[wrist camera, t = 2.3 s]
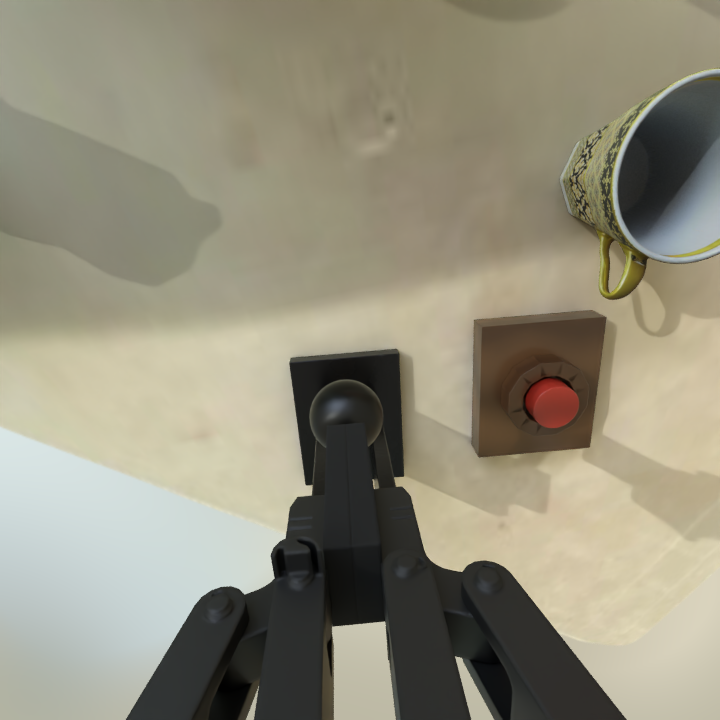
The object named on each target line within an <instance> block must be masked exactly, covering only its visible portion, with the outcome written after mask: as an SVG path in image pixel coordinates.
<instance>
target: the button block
mask: <svg viewBox="0 0 720 720" xmlns="http://www.w3.org/2000/svg"><path fill="white" fill-rule="evenodd" d="M605 325H606V317H605V316H603V315H601V314H599V313H597V312H595V311H592V310H589V311H576V312H564V313H552V314H540V315H528V316H515V317H503V318H491V319H479V320H474V353H473V401H472V446H473V448H474V450H475V452H476V454H477V455H478V457H489V456H500V455H511V454H523V453H534V452H545V451H556V450H567V449H578V448H589V447H590V442H591V434H592V426H593V419H594V411H595V403H596V395H597V387H598V379H599V372H600V364H601V356H602V348H603V340H604V332H605ZM547 378H555V379H558V380H561V381H562V382H564V383H565V384H566V385H567V386H568V387H570V388H571V389H572V390H573V391H574V392H575V393H576V394H577V396H578V399H579V409H578V412H577V414H576V415H575V417H574V418H573V419H572V420H571V421H570V422H569V423H567V424H566V425H564V426H561V427H558V428H547V427H544V426H542V425H540V424H539V423H538V422H537V421H536V420H535V419H534V418H533V417H532V415H531V414H530V413H529V412H528V411H527V409H526V406H525V398H526V394H527V392H528V390H529V389H530V388H531V387H532V386H533V385H534V384H535V383H536V382H538V381H540V380H543V379H547Z"/></svg>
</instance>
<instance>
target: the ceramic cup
mask: <svg viewBox="0 0 720 720" xmlns="http://www.w3.org/2000/svg"><path fill="white" fill-rule="evenodd" d="M560 184H561V187H562V191H563V195H564V198H565V202H566V205H567V209H568V212H569V214H571V215H573V216H575V217H577V218H579V219H581V220H583V221H584V222H586V223H587V224H589V225H590V226H592V227H593V228H595V229H596V230H597V234H598V237H599V239H600V274H599V290H600V293H601V295H602V296H603V297H605V298H607V299H610V300H615V299H620V298H623V297H625V296H627V295H628V294H630V293H631V292H632V291H633V290H634V289H635V288H636V287H637V285H638V284H639V283H640V281H641V280H642V278H643V275H644V273H645V269H646V263H647V259H648V258H651V259H654V260H657V261H660V262H664V263H671V264H685V263H692V262H698V261H701V260H705V259H708V258H711V257H713V256H716V255H718V254H720V68H714V69H708V70H704V71H700V72H697V73H694V74H692V75H689V76H687V77H685V78H683V79H681V80H679V81H677V82H675V83H673V84H671V85H670V86H668V87H666V88H664V89H662V90H660V91H658V92H657V93H655V94H653V95H652V96H650V97H648V98H647V99H645V100H643V101H642V102H640V103H639V104H637V105H635V106H634V107H632V108H631V109H630V110H628V111H627V112H625V113H624V114H623V115H621V116H620V117H619V118H617V119H616V120H615V121H613V122H612V123H610V124H608V125H607V126H605V127H603V128H601V129H600V130H598V131H596V132H594V133H593V134H591V135H589V136H587V137H585V138H583V139H582V140H580V141H579V142H577V143H576V145H575V147H574V149H573V151H572V154H571V156H570V158H569V160H568V162H567V164H566V166H565V168H564V171H563V173H562V175H561V177H560ZM614 240H617V241H618V243H619V245H620V246H621V247H622V249H623V252H624V254H625V255H626V264H625V268H624V272H623V275H622V278H621V280H620V282H619V284H618V286H617V287H616V289H615V290H614V291H612V292H611V293H609V289H608V280H609V270H610V258H609V248H610V245H611V243H612V242H613V241H614Z"/></svg>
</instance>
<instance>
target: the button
mask: <svg viewBox="0 0 720 720" xmlns="http://www.w3.org/2000/svg"><path fill="white" fill-rule="evenodd" d="M525 406H526V409H527V411H528V412H529V413H530V414H531V415H532V417H533V418H534V419H535V420H536V421H537V422H538V423H539V424H540V425H542V426H544V427H547V428H558V427H561V426H564V425H566V424H567V423H569V422H570V421H571V420H572V419H573V418H574V417H575V415H576V414H577V412H578V409H579V399H578V396H577V394H576V393H575V392H574V391H573V390H572V389H571V388H570V387H568V386H567V385H566V384H565V383H564V382H562V381H561V380H558V379H555V378H547V379H543V380H540V381H538V382H536V383H535V384H534V385H533V386H532V387H531V388H530V389H529V390H528V392H527V394H526V398H525Z"/></svg>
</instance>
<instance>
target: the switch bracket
mask: <svg viewBox="0 0 720 720" xmlns="http://www.w3.org/2000/svg"><path fill="white" fill-rule="evenodd" d="M289 364H290V371H291V379H292V386H293V394H294V401H295V409H296V416H297V424H298V431H299V439H300V446H301V454H302V461H303V469H304V477H305V484H306V485H313V488H312V496H315V495H325V465H326V447H324V446H323V445H322V444H321V443H320V442H319V441H318V440H317V439H316V437H315V436H314V434H313V432H312V429H311V425H310V418H309V416H310V408H311V405H312V402H313V400H314V398H315V397H316V395H317V394H318V392H319V391H320V390H321V389H323V388H324V387H325V386H327V385H328V384H330V383H332V382H335V381H339V380H354V381H358V382H361V383H363V384H365V385H366V386H368V387H369V388H370V389H371V390H372V391H373V392H374V393H375V394H376V395H377V397H378V399H379V400H380V403H381V406H382V410H383V424H382V428H381V431H380V433H379V435H378V436H377V438H376V439H375V441H374V442H373V443H372V444H371V445H370V446H368V451H369V458H370V466H371V473H372V479H374V484H375V489H380V488H391V487H396V485H395V480H394V477H403V476H404V463H403V439H402V414H401V390H400V365H399V353H398V350H397V349H392V350H380V351H368V352H356V353H344V354H332V355H320V356H308V357H295V358H291V359H290V363H289Z"/></svg>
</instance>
